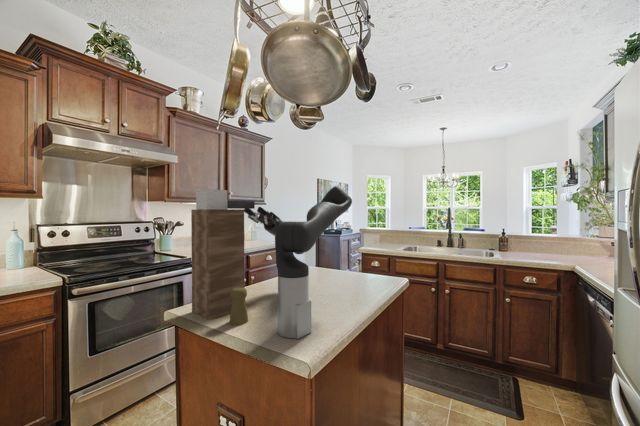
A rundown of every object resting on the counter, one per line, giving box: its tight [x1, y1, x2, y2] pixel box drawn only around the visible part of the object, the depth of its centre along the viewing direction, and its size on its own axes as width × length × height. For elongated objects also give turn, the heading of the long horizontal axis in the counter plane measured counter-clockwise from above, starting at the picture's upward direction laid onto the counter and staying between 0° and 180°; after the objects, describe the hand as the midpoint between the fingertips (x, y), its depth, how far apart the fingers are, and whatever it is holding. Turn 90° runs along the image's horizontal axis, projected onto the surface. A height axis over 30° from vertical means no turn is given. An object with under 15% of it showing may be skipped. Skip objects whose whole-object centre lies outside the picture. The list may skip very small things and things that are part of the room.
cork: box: [229, 287, 249, 326], centre depth 97 cm, size 6×6×11 cm
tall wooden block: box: [190, 209, 245, 320], centre depth 108 cm, size 12×14×37 cm
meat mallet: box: [195, 188, 255, 210], centre depth 111 cm, size 7×22×7 cm, turn 141°
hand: (251, 208), depth 120 cm, fingers open, 8 cm apart
